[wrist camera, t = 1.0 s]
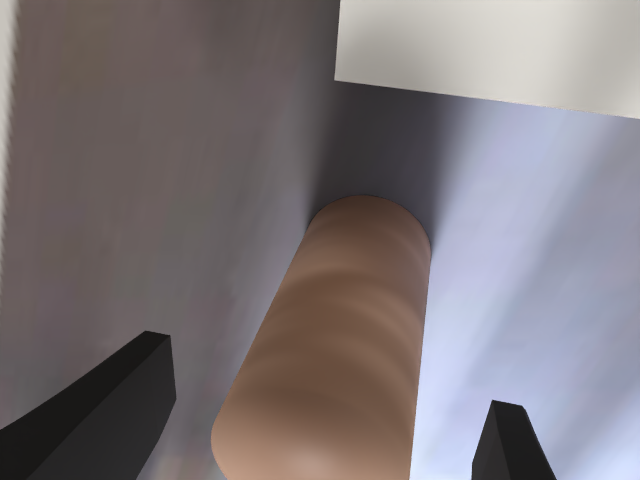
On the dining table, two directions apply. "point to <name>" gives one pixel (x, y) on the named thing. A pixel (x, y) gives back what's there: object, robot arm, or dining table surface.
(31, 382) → the dining table surface
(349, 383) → the peg
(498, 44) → the socket block
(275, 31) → the dining table surface
